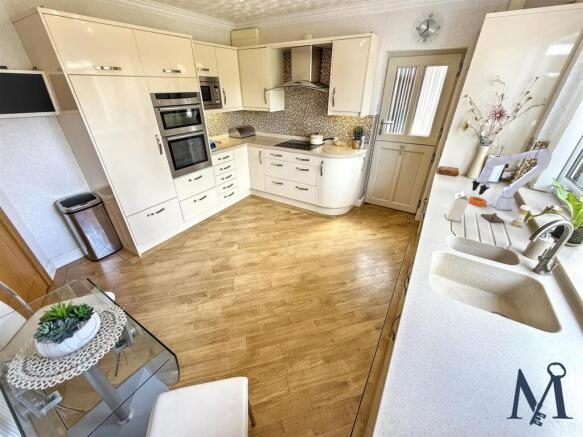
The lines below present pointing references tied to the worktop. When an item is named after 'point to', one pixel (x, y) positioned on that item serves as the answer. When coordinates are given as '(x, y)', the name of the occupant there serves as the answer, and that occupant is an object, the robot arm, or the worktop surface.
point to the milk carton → (457, 206)
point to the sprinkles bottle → (520, 215)
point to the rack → (493, 218)
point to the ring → (477, 201)
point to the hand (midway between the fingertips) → (476, 192)
